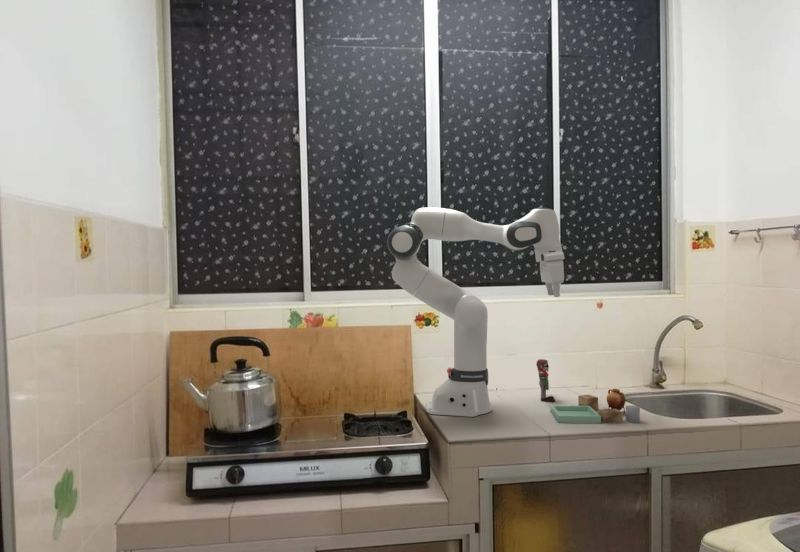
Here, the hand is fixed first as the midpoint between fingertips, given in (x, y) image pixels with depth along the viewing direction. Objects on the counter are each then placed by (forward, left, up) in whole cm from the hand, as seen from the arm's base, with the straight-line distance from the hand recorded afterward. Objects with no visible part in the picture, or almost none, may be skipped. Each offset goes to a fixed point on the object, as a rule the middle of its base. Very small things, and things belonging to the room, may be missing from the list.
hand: (553, 296), depth 183 cm
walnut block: (+15, -12, -39) cm, 43 cm away
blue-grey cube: (+22, -12, -39) cm, 46 cm away
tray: (+5, -8, -39) cm, 40 cm away
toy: (0, +14, -39) cm, 42 cm away
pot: (+20, -2, -39) cm, 44 cm away
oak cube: (+12, +2, -39) cm, 41 cm away
